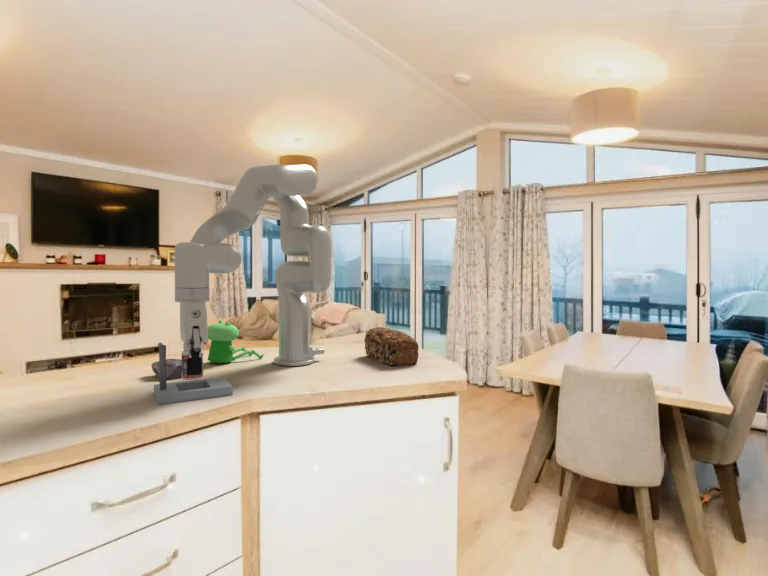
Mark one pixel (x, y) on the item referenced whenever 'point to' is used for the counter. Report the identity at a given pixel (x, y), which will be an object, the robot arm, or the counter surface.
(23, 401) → the counter surface
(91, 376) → the counter surface
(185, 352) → the pill bottle
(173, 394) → the gray slotted post stand
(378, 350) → the bread
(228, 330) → the toy character
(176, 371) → the rock
